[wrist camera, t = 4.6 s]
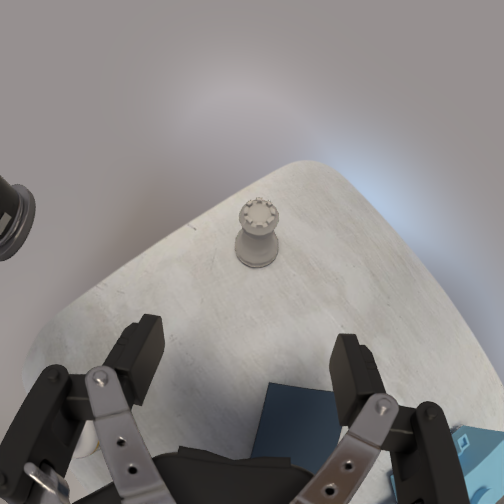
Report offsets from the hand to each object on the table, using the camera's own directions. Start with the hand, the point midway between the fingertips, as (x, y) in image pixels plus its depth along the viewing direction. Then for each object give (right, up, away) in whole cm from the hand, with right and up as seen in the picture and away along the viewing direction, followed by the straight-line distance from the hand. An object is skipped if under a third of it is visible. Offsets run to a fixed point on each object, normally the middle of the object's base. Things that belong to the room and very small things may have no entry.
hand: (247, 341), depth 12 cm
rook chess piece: (+1, +4, +18) cm, 18 cm away
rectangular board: (+4, -17, +10) cm, 20 cm away
